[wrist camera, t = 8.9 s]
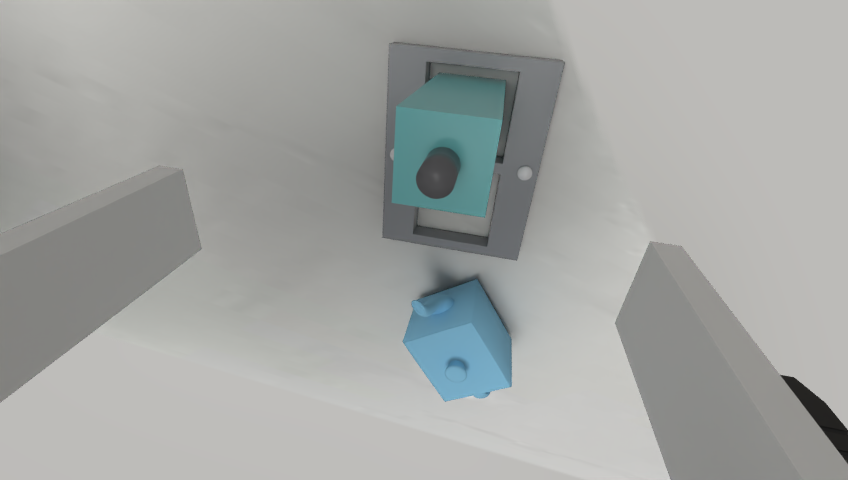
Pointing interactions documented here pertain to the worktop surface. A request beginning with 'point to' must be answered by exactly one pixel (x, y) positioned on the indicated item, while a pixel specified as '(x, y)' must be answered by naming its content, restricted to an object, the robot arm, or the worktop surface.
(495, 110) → the plug
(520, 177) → the socket plate
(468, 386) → the boxy blue kettle
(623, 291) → the worktop surface
